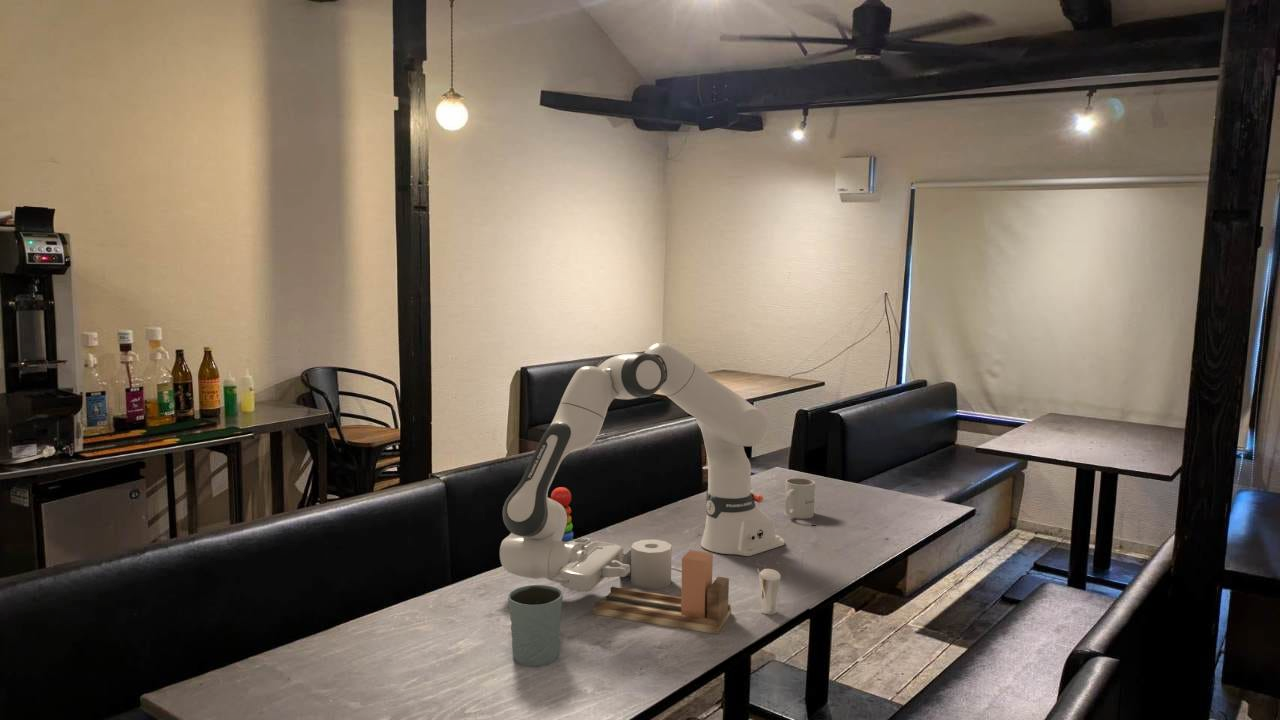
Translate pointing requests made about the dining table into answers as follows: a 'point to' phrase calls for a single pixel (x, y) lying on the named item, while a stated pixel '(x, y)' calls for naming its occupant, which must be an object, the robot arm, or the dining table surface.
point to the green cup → (535, 624)
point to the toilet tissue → (649, 564)
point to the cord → (644, 603)
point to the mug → (799, 498)
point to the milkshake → (769, 590)
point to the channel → (711, 623)
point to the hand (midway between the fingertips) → (627, 571)
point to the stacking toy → (564, 499)
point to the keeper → (696, 583)
